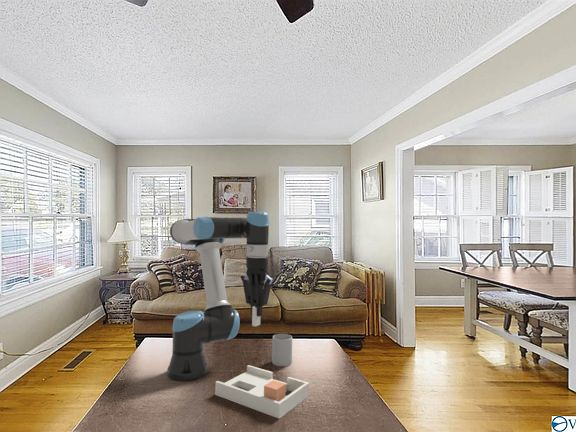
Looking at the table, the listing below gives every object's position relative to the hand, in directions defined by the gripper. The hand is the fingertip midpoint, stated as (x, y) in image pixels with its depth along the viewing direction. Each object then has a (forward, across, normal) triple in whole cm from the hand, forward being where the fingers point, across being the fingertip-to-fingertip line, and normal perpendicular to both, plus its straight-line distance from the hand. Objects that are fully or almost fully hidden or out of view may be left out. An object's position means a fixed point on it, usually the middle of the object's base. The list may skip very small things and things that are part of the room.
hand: (256, 325), depth 127 cm
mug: (+25, -10, +32) cm, 42 cm away
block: (+22, +10, -3) cm, 24 cm away
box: (+24, +2, +2) cm, 25 cm away
